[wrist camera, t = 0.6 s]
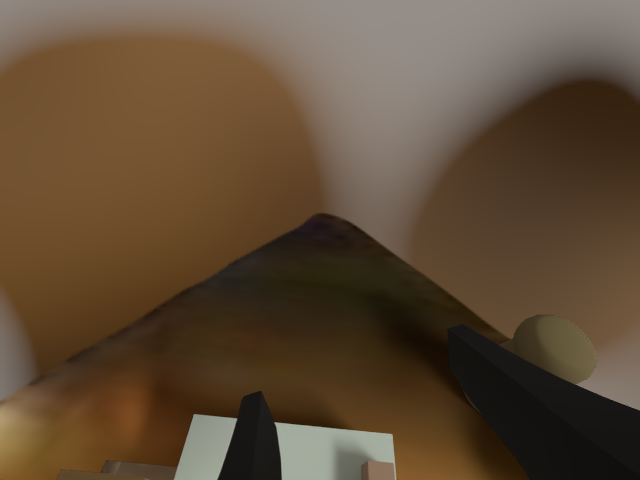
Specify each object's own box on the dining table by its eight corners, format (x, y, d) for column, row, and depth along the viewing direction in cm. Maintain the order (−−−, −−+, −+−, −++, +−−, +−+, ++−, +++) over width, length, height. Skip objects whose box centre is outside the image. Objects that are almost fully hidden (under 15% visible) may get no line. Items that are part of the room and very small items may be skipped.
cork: (456, 404, 29) (526, 356, 21) (463, 348, 33) (524, 290, 25) (523, 436, 28) (624, 397, 20) (522, 374, 32) (605, 322, 24)
